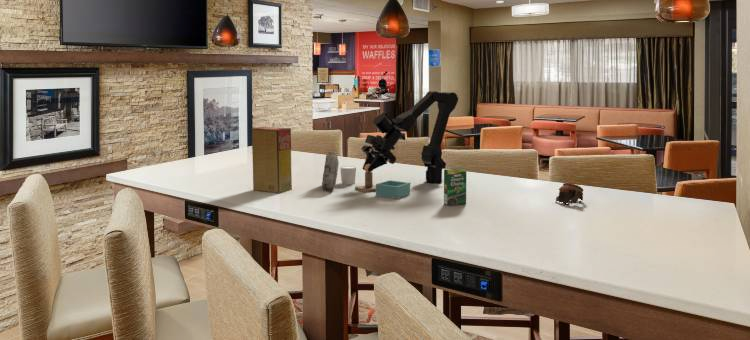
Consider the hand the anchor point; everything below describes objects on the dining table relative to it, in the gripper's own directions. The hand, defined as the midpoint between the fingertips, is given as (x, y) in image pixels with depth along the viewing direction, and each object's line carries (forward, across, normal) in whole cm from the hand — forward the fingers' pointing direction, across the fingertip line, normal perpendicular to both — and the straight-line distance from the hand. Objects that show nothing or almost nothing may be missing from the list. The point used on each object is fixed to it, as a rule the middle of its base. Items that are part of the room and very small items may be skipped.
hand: (365, 170), depth 230 cm
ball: (0, 0, +2) cm, 2 cm away
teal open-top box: (+3, +13, +9) cm, 16 cm away
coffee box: (-4, +38, +16) cm, 42 cm away
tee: (+5, 0, +7) cm, 8 cm away
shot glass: (+5, -16, +7) cm, 18 cm away
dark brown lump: (-31, +58, +43) cm, 79 cm away
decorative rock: (+14, -10, -2) cm, 17 cm away
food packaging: (+28, -20, -17) cm, 38 cm away
